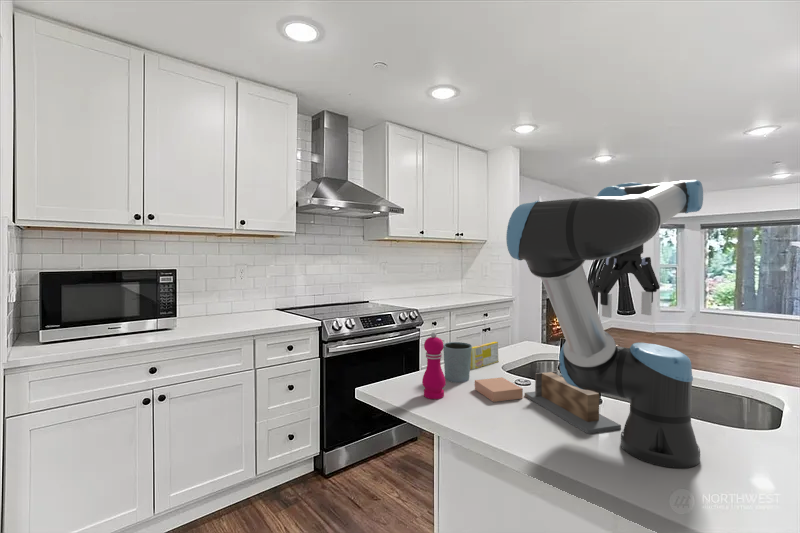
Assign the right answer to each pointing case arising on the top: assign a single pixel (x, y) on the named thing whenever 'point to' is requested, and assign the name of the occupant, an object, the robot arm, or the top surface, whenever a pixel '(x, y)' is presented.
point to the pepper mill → (433, 368)
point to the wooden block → (567, 395)
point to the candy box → (484, 355)
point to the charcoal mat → (583, 425)
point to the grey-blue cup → (457, 361)
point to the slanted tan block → (498, 389)
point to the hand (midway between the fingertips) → (626, 315)
